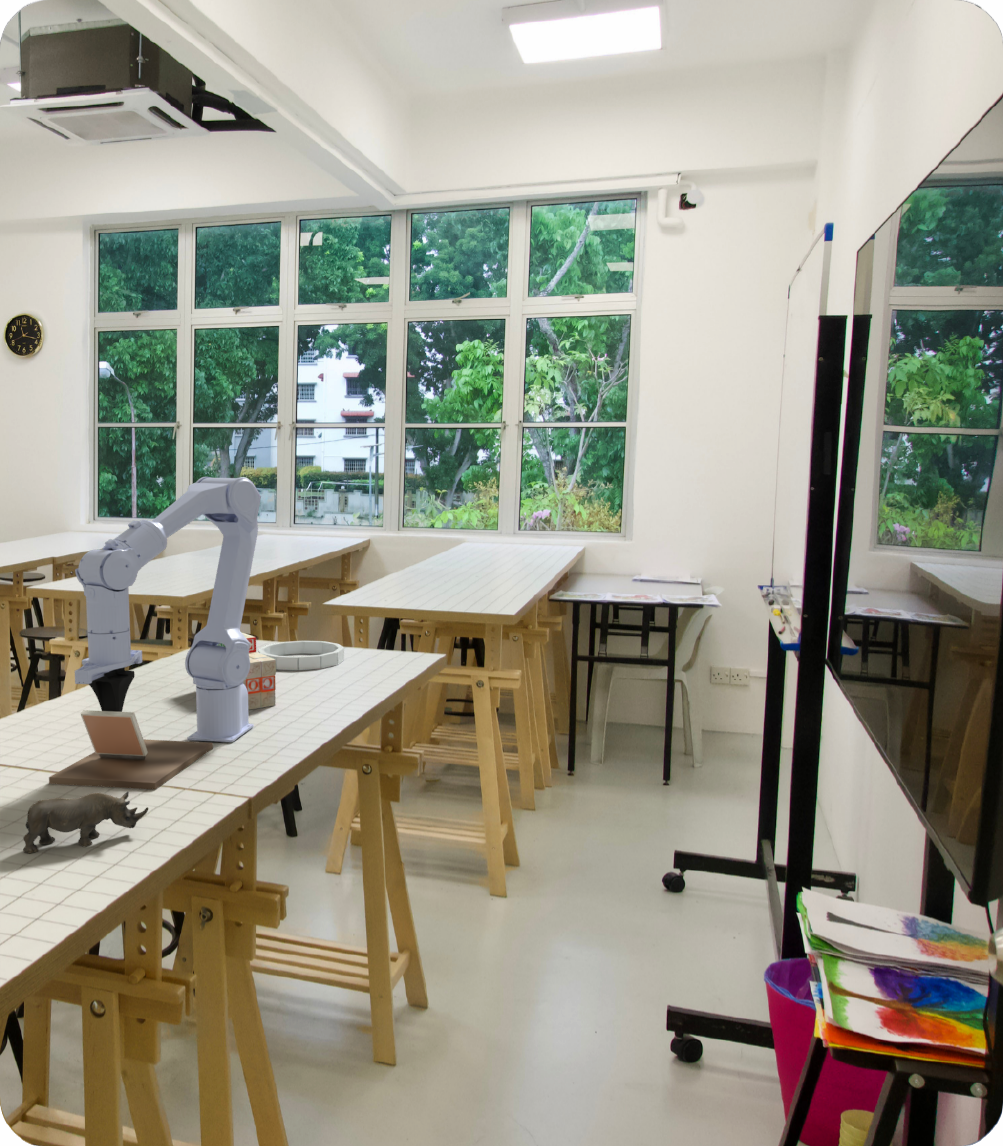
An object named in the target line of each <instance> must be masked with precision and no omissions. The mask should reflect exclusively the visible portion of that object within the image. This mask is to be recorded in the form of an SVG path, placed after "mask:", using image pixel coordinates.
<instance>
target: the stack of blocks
mask: <svg viewBox="0 0 1003 1146" xmlns="http://www.w3.org/2000/svg"><path fill="white" fill-rule="evenodd" d="M241 633H242V634H243V635H244V636H245V638H246V639H247V640H248V641H249V643H250V647H249V658H250V670H249V673H248V675H247V677H246V679H245V680H244V681H243V684H244V685H245V686H246V688H247V691H248V711H249V710H255V709H261V708H268V707H272V706H273V707H274V706H276V691H277V689H276V674H277V669H276V660H275V659H273V658H270V657H268V656H266V655H263V654H261V653H258V651H257V637H256V636H253V635H252V634H251V635H250V634H248V633H245V632H242V631H241ZM217 646H222V647H225V645H224V644H222V643H219V644H218V645H217Z"/></svg>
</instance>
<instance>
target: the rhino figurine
mask: <svg viewBox="0 0 1003 1146" xmlns="http://www.w3.org/2000/svg"><path fill="white" fill-rule="evenodd" d="M129 794H130V793H129V791H126V792H125V793H124V794H123V795H122V796H121V797H117V796H113V795H111V794H108V793H103V792H92V793H87V794H85V795H83V796H80V797H74V798H64V797H53V798H45V799H40V800H37V801H36V802H34V803H33V804H32V805H31V806H30V807H29V809H28V810H27V812H26V813H27V814H26V815H27V818H26V823H25V829H27V831H28V832H27V833H26V834H25V835H24V836H23V841H24V845H25V846H24V847H23V851H22V852H24V853H25V854H33V853H37V852H39V848H38V847H37V845H36V843H35V840H36V839H37V838H38V837H39V841H38V843H39V844H40V845H47V844H53V843H54V842H55V841H56V839H55V837H53V836H52V835H50V832H49V831H50V830H49V828H50V829H51V830H55V831H57V832H58V833H71V832H74V831H75V830H80V831H79V836H80V837H79V839H78V840H77V842H78V844H79V845H80V846H81V847H87V846H92V845H93V841H92V840H91V839H96V838H98V837H100V832H99V831H98V830H96V827H97V825H99V824H100V823H102V822H103V821H105V820H106V821H107V820H111V822H112V823H113V824H114V825H116V826H119V827H123V828H129V829H134V828H135V827H136V825H137V822H138V821H139V820H140V819H142V818H143V817H144V816H145V815H146V814H147V813H148V812H149V807H147V806H146V807H145V808H144V810H142V811H140V812H137V810H138V807H134V808H131V809H130V808H128V806H129V805H130V803H131V801H130V800H127V799H128V797H129V796H130V795H129ZM126 800H127V801H126ZM136 812H137V813H136Z"/></svg>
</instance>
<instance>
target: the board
mask: <svg viewBox="0 0 1003 1146" xmlns="http://www.w3.org/2000/svg"><path fill="white" fill-rule="evenodd" d="M143 740H144V743H145V745H146V748H147V751H148V753H147V755H146V756H133V755H112V754H96V753H95V751H94V752H92V753H90V754H89V755H87V756H84V757H83V758H81V759H80V760H78V761H76V762H74V763H72V764H71V765H68V766H67V767H65V768H63V769H62V770H60V771H58V772H56V773H54V774H52V775H50V776H49V777H48V784H49V785H62V786H64V785H65V786H78V787H79V786H80V787H81V786H82V787H99V788H116V789H117V788H119V789H134V790H135V789H136V790H137V789H138V790H153V791H155V790H158V788H160V787H161V786H163V785H164V784H165V783H167V782H169V781H170V780H171V779H173V777H175V776H177V775H178V774H179V773H181V772H182V771H183V770H185V769H187V768H188V767H189V766H191V765H192V764H193V763H195V762H196V761H198V760H199V759H200V758H202V757H204V756H205V755H206V754H207V753H209V752H210V751H212V750H213V749H214V748H213V747H214V745H213V744H214V742H210V741H189V740H187V741H186V740H184V741H183V740H165V739H163V740H162V739H160V740H159V739H146V738H145V739H144V738H143Z"/></svg>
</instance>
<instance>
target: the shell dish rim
mask: <svg viewBox="0 0 1003 1146" xmlns="http://www.w3.org/2000/svg"><path fill="white" fill-rule="evenodd" d="M257 652H258V653H261V654H263V655H266V656H268V657H270V658H273V659H275V660H276V671H277V670H279V671H304V670H305V671H306V670H307V671H308V670H321V669H326V668H329V667H334V666H339V664H341V663H342V662H343V661H345V648H344V646H343V645H341V644H339V643H335V642H329V641H324V640H323V641H322V640H293V641H281V642H275V643H270V644H267V645H263V646H262V647H260V648H257ZM298 654H300V656H299V655H298ZM301 654H307V655H301ZM308 654H309V655H308ZM310 654H312V655H310ZM291 655H294V656H291ZM295 655H297V656H295Z"/></svg>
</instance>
